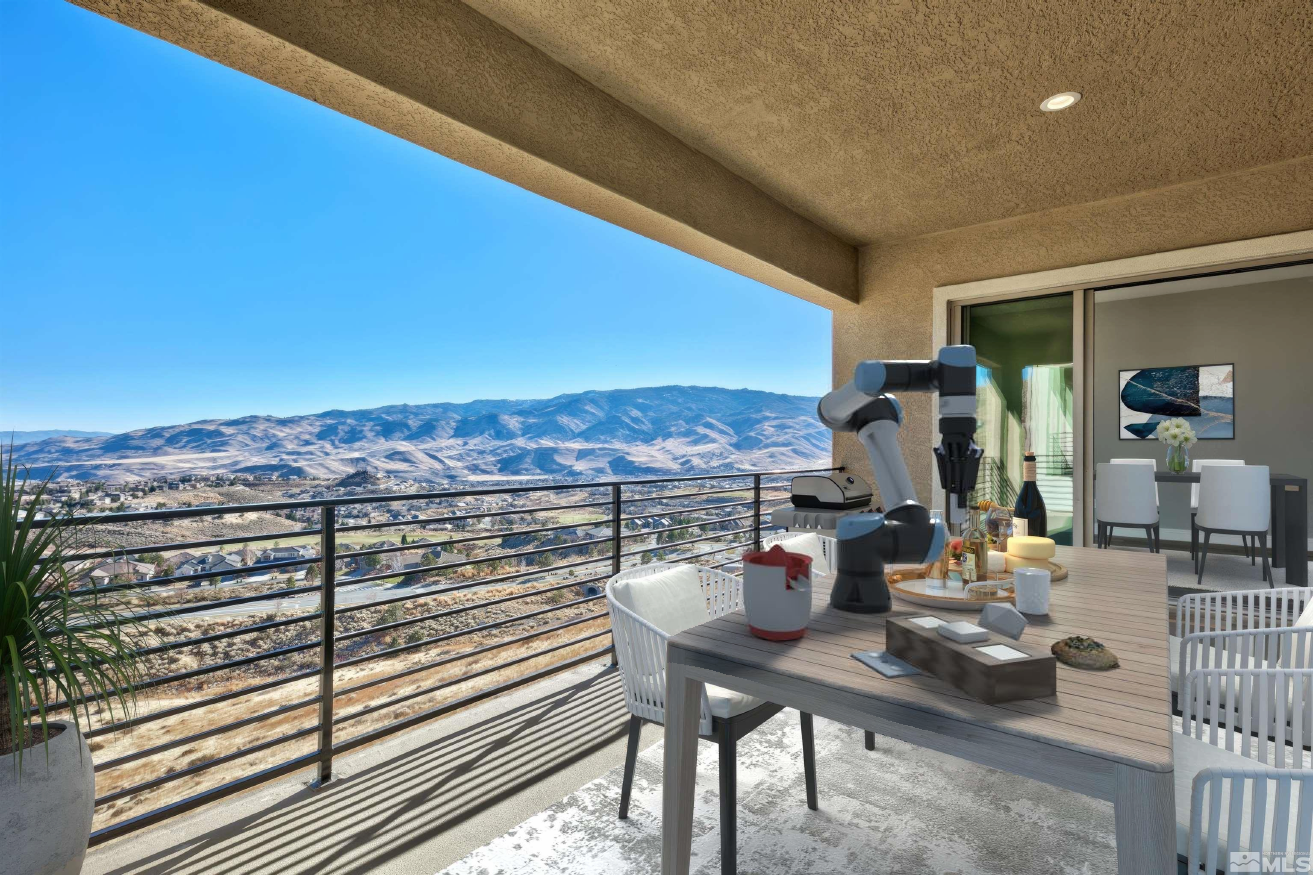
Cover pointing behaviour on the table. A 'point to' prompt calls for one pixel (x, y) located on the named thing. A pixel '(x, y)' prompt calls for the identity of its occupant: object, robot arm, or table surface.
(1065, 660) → the bread roll
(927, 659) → the button box
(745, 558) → the citrus juicer
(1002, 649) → the outer button
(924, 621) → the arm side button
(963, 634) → the middle button
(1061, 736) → the table surface
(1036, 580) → the white cup
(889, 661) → the pattern card
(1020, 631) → the die
